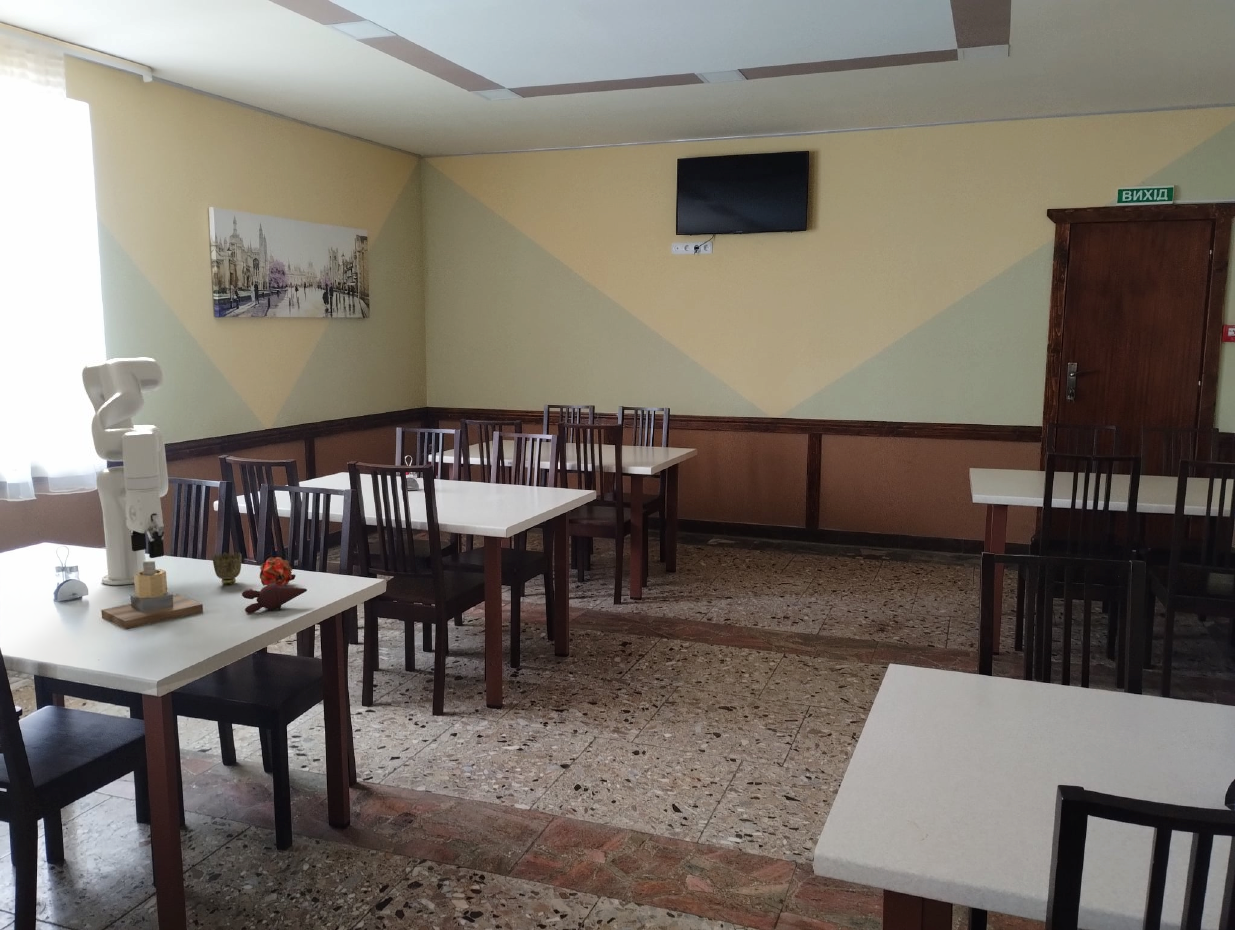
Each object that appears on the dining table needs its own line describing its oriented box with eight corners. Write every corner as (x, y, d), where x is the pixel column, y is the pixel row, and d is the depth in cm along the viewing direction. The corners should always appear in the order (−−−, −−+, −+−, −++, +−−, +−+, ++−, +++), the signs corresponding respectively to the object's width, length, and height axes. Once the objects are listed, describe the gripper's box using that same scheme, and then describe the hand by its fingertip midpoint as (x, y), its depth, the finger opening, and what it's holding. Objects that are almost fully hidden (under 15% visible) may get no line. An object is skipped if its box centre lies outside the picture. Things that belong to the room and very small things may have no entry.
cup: (248, 580, 261) (246, 552, 260) (235, 587, 254) (233, 558, 252) (222, 580, 262) (220, 551, 260) (208, 587, 254) (206, 558, 253)
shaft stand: (101, 617, 227) (97, 564, 225) (177, 601, 240) (173, 551, 239) (125, 629, 218) (121, 574, 216) (203, 612, 231) (199, 559, 229)
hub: (132, 595, 228) (130, 573, 227) (159, 589, 233) (157, 567, 232) (143, 600, 224) (141, 577, 223) (171, 594, 229) (169, 572, 228)
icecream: (302, 576, 240) (239, 589, 233) (306, 575, 233) (241, 588, 226) (307, 603, 239) (244, 616, 233) (311, 603, 233) (247, 617, 226)
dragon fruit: (275, 586, 261) (284, 603, 251) (248, 572, 256) (256, 588, 246) (294, 560, 261) (303, 576, 251) (267, 546, 257) (275, 561, 247)
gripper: (111, 481, 228) (116, 550, 230) (141, 489, 216) (147, 562, 219) (143, 477, 233) (148, 545, 236) (175, 485, 222) (179, 556, 225)
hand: (147, 553), depth 227 cm, fingers open, 9 cm apart
